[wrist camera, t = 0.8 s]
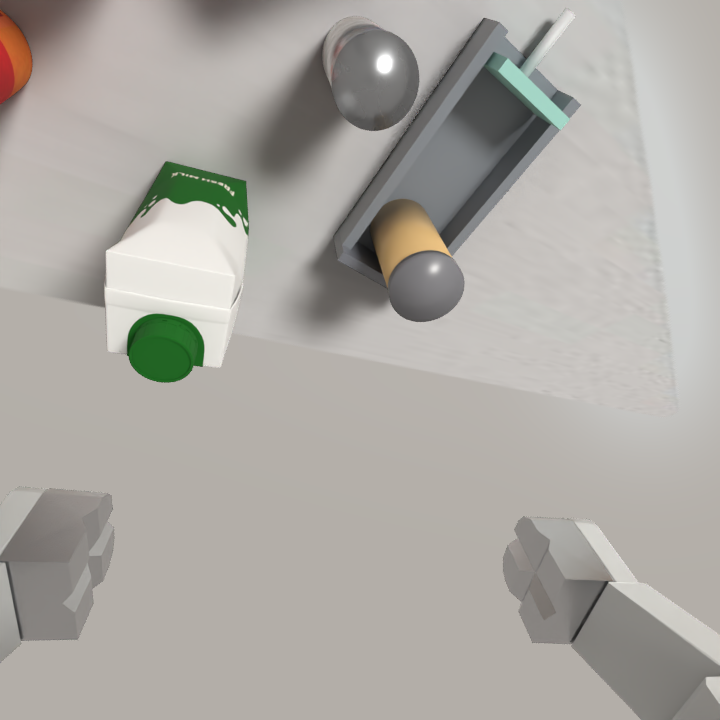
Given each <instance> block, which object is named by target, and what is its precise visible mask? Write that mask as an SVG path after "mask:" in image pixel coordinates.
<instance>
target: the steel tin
mask: <svg viewBox="0 0 720 720" xmlns="http://www.w3.org/2000/svg"><path fill="white" fill-rule="evenodd" d="M322 60H323V66H324V70H325V72H326V75H327V78H328V80H329V83H330V85H331V88H332V93H333V97H334V100H335V102H336V105H337V107H338V109H339V111H340V112H341V114H342V115H343V116H344V117H345V118H346V120H348V121H349V122H350V123H351V124H353V125H354V126H356V127H358V128H361V129H364V130H369V131H378V130H383V129H387V128H389V127H391V126H393V125H395V124H397V123H398V122H399V121H400V120H402V119H403V118H404V117H405V116H406V114H407V113H408V112H409V110H410V109H411V107H412V105H413V103H414V101H415V99H416V96H417V92H418V87H419V70H418V65H417V61H416V59H415V56H414V54H413V52H412V50H411V49H410V48H409V46H408V45H407V44H406V43H405V42H404V41H403V40H402V39H401V38H400V37H398V36H397V35H395V34H393V33H391V32H388V31H386V30H384V29H383V28H381V27H380V26H378V25H377V24H375V23H374V22H372V21H371V20H369V19H367V18H364V17H360V16H352V17H347V18H344V19H342V20H340V21H339V22H338V23H336V24H335V25H334V26H333V27H332V29H331V30H330V31H329V33H328V34H327V37H326V39H325V42H324V45H323V51H322Z"/></svg>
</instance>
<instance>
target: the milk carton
mask: <svg viewBox="0 0 720 720" xmlns="http://www.w3.org/2000/svg"><path fill="white" fill-rule="evenodd" d="M248 231H249V221H248V207H247V190H246V181H243V180H239V179H235V178H231V177H227V176H223V175H219V174H215V173H211V172H207V171H203V170H199V169H195V168H191V167H187V166H183V165H179V164H175V163H171V162H167V161H166V162H165V164H164V166H163V168H162V170H161V171H160V173H159V175H158V177H157V178H156V180H155V182H154V183H153V185H152V187H151V189H150V190H149V192H148V194H147V196H146V197H145V199H144V201H143V203H142V204H141V206H140V207H139V209H138V211H137V213H136V214H135V216H134V218H133V220H132V221H131V223H130V225H129V226H128V228H127V230H126V232H125V233H124V235H123V237H122V238H121V240H120V242H119V243H117V244H116V245H114V246H113V247H111V248H110V249H108V250H106V273H105V280H104V300H105V313H106V336H107V337H106V338H107V351H108V352H112V353H121V354H127V356H129V360H130V363H131V365H132V367H133V368H134V369H135V370H136V371H137V372H138V373H139V374H141V375H142V376H144V377H145V378H147V379H150V380H153V381H157V382H175V381H178V380H181V379H183V378H185V377H186V376H187V375H188V374H189V373H190V372H191V371H192V368H193V365H194V366H200V367H202V366H203V365H205V366H210V367H218V368H219V367H221V364H222V361H223V358H224V355H225V352H226V349H227V346H228V343H229V341H230V337H231V335H232V331H233V328H234V324H235V320H236V316H237V312H238V308H239V304H240V299H241V295H242V289H243V284H242V283H243V277H244V269H245V261H246V253H247V245H248Z"/></svg>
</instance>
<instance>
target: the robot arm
mask: <svg viewBox="0 0 720 720" xmlns="http://www.w3.org/2000/svg"><path fill="white" fill-rule="evenodd" d="M112 510H113V507H112V497H111V495H110V494H108V493H102V492H89V491H76V490H63V489H51V488H50V489H42V488H31V487H17V488H16V489H14V490H12V491H11V492H10V493H9V494H8V495H7V497H6V498H5V499H4V500H3V502H2V503H1V504H0V663H1V661H3V660H4V659H5V658H6V657H7V656H8V655H9V654H10V653H12V652H13V651H14V650H15V649H16V648H17V647H18V646H19V645H20V644H21V641H25V640H26V641H27V640H28V641H29V640H77V639H78V638H79V635H80V633H81V631H82V629H83V626H84V624H85V622H86V620H87V617H88V615H89V612H90V610H91V608H92V606H93V592H92V589H93V588H94V587H95V586H97V585H98V584H100V583H101V582H102V581H103V580H104V577H105V575H106V572H107V570H108V568H109V564H110V560H111V556H112V553H113V546H114V527H113V526H112V525H111V524H110V523H109V522H108V521H107V520H108V518H109V516H110V514H111V512H112ZM515 532H516V535H517V537H518V538H517V539H515V540H514V541H513V542H511V543H510V544H509V545H508V546H507V548H506V551H505V554H504V557H503V572H504V577H505V581H506V584H507V586H508V588H509V591H510V592H511V593H512V594H513V595H514V596H516V597H517V599H519V600H520V601H521V604H520V608H519V613H520V616H521V618H522V620H523V623H524V625H525V627H526V629H527V631H528V634H529V636H530V638H531V641H532V643H554V644H555V643H556V644H572V648H573V649H574V650H575V651H576V652H577V653H578V654H579V655H580V656H581V657H582V658H583V659H584V660H585V661H586V662H587V663H588V664H589V665H590V666H591V667H592V668H593V670H594V671H595V672H596V673H597V674H598V675H599V676H600V677H601V678H602V679H603V680H604V681H605V682H606V683H607V684H608V685H609V686H610V687H611V688H612V689H613V691H614V692H615V693H616V694H617V695H618V696H619V697H620V698H621V699H622V700H623V701H624V702H625V703H626V704H627V705H628V706H629V707H630V708H631V709H632V710H633V711H634V712H635V713H636V715H637V716H638V717H639V718H640V719H641V720H720V635H719V634H718V633H716V632H715V631H713V630H712V629H710V628H709V627H708V626H706V625H705V624H703V623H702V622H700V621H699V620H698V619H696V618H695V617H693V616H691V615H690V614H689V613H687V612H686V611H685V610H683V609H682V608H680V607H679V606H677V605H676V604H675V603H673V602H672V601H670V600H669V599H667V598H666V597H665V596H663V595H662V594H660V593H659V592H657V591H656V590H655V589H653V588H651V587H650V586H649V585H647V584H646V583H638V581H637V580H636V578H635V577H634V576H633V574H632V573H631V572H630V570H629V569H628V567H627V566H626V565H625V563H624V562H623V561H622V559H621V558H620V556H619V555H618V554H617V552H616V551H615V550H614V548H613V547H612V545H611V544H610V543H609V541H608V540H607V539H606V537H605V536H604V534H603V533H602V532H601V530H600V529H599V528H598V526H597V525H596V524H595V523H594V522H592V521H591V520H590V519H571V518H570V519H569V518H567V519H564V518H546V517H545V518H544V517H522V518H521V519H520V520H519V521H518V523H517V525H516V527H515Z"/></svg>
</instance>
